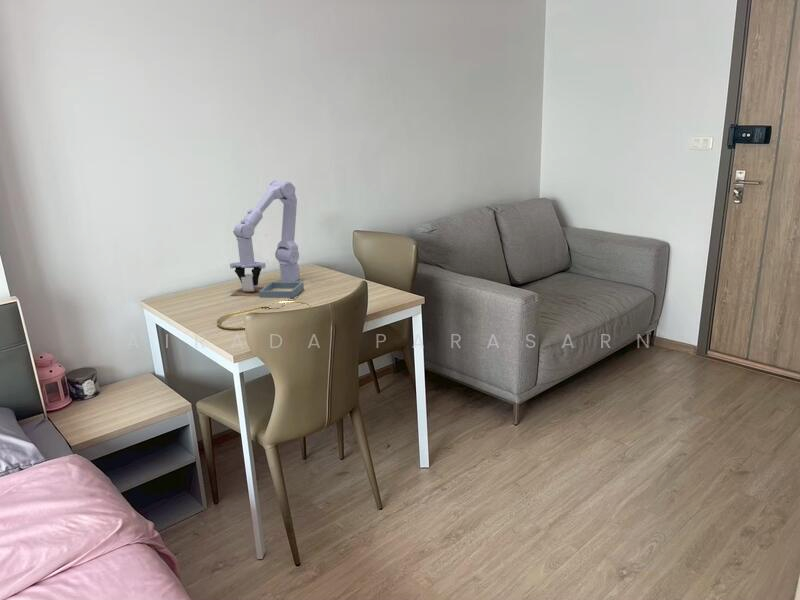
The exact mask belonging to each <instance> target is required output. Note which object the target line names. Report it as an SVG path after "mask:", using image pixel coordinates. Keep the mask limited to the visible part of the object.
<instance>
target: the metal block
mask: <svg viewBox="0 0 800 600" xmlns="http://www.w3.org/2000/svg"><path fill="white" fill-rule="evenodd" d="M241 281H242V283H241V288H242V289H243V291H255V290H256V289H258V287H259V284H258V285H256V286H255V285H254V278H253V274H252V273H245V275H244V276H242V277H241ZM241 281H240V282H241Z"/></svg>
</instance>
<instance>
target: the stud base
mask: <svg viewBox="0 0 800 600" xmlns="http://www.w3.org/2000/svg"><path fill="white" fill-rule="evenodd" d="M264 287H265V286H262V287H261V286H258V289H256V290H255V291H243V289H242V287H240V288H239V289H237V290H236V291H234V292H233V293H231V294H230V295H229V297H259V291H260V290H261V289H263V288H264Z"/></svg>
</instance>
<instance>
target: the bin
mask: <svg viewBox="0 0 800 600" xmlns="http://www.w3.org/2000/svg"><path fill="white" fill-rule="evenodd" d="M263 287H264V288H263V289H261V290H260V291H259V296H258V297H259V298H262V299H263V298H266V299H267V298H269V299H270V298H276V299H278V298H279V299H280V298H281V299H286V298H287V299H294V298H295V297H296V296H297V297H298V296H300V294H302V293H301V292H302V291H303V290H304V291H305V287H304V281H296V282H281V281H271V282H269V283H268V284H267V285H265V286H263ZM274 289H286V290H274ZM287 289H288V290H287ZM289 289H291V290H289ZM304 291H303V292H304ZM297 297H296V298H297ZM296 298H295V299H296ZM295 299H294V300H295Z"/></svg>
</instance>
